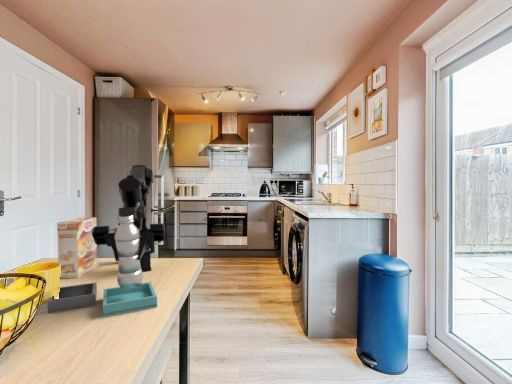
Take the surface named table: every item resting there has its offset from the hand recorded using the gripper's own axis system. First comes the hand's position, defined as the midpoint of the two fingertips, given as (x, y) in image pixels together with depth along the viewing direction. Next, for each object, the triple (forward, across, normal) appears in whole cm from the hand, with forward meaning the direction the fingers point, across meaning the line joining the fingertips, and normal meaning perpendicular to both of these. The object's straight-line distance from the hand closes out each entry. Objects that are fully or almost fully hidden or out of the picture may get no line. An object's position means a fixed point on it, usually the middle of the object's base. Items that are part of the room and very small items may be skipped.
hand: (127, 259), depth 79 cm
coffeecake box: (-17, -22, +35) cm, 45 cm away
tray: (+8, 0, +9) cm, 12 cm away
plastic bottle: (+4, 0, +7) cm, 8 cm away
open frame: (+4, -15, +13) cm, 20 cm away
